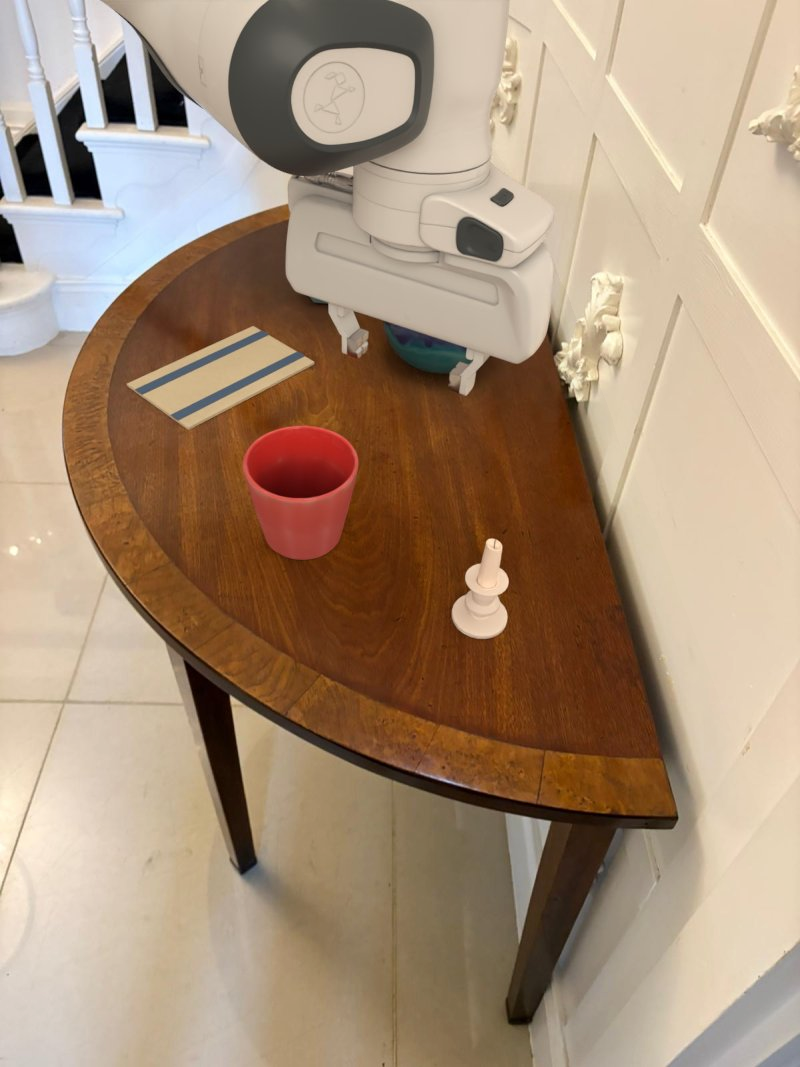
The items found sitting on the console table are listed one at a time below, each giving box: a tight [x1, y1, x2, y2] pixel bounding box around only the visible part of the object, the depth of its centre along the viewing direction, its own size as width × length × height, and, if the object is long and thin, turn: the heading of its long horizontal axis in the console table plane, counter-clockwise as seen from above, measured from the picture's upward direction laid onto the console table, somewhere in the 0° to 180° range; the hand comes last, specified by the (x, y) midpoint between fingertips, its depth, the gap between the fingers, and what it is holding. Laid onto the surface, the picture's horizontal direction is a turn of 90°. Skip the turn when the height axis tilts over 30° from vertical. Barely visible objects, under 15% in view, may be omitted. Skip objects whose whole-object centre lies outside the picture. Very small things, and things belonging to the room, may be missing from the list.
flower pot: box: [242, 425, 359, 561], centre depth 76 cm, size 11×11×10 cm
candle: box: [451, 538, 510, 640], centre depth 70 cm, size 5×5×10 cm
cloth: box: [126, 325, 316, 431], centre depth 98 cm, size 20×12×1 cm, turn 138°
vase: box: [382, 320, 473, 375], centre depth 100 cm, size 15×15×13 cm
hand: (406, 370), depth 62 cm, fingers open, 8 cm apart
